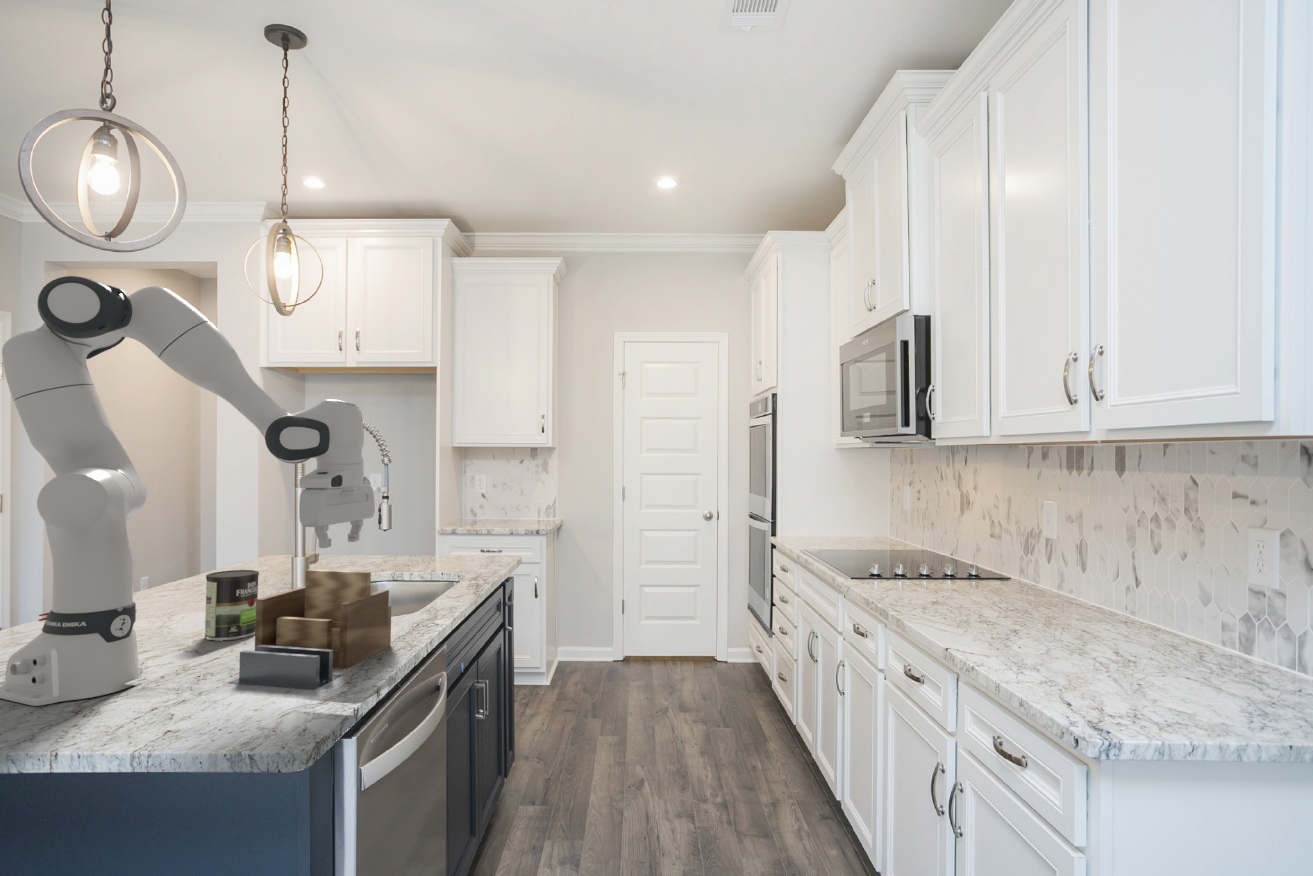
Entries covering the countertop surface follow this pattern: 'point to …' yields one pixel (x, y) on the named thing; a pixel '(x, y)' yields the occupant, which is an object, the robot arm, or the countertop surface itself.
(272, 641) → the board rack
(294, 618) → the small boards
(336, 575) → the cutting board
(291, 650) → the stand
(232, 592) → the coffee can
